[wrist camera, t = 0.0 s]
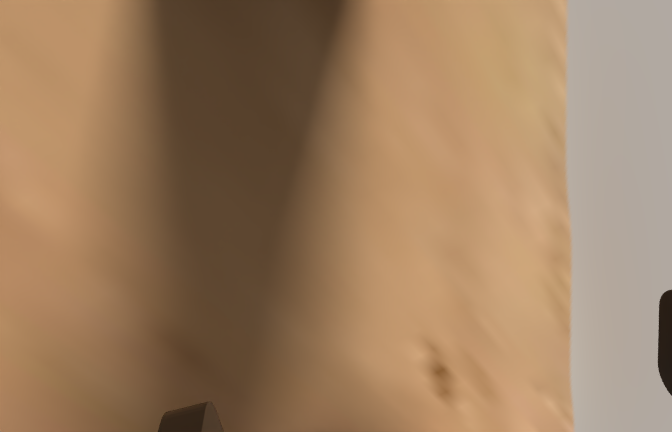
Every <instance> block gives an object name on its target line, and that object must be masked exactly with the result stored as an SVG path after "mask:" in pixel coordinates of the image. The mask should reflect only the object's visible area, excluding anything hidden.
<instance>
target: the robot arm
mask: <svg viewBox="0 0 672 432" xmlns="http://www.w3.org/2000/svg"><path fill="white" fill-rule="evenodd" d="M658 341H659V342H658V368H659V373H660V376H661V378H662V381H663V383H664V385H665V387H666V388H667V390H668V391H669V393H670V394H671V395H672V290H669V291H666V292H665V293H664V294H663V295H662V296H661V299H660V304H659V339H658ZM158 432H223V429H222V426H221V423H220V420H219V417H218V414H217V411H216V409H215V406H214V405H213V403H212V402H206V403H202V404H198V405H194V406H190V407H185V408H181V409H177V410H173V411H169V412H166V413H165V414H164V415H163V417H162V420H161V423H160V427H159V430H158Z"/></svg>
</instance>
